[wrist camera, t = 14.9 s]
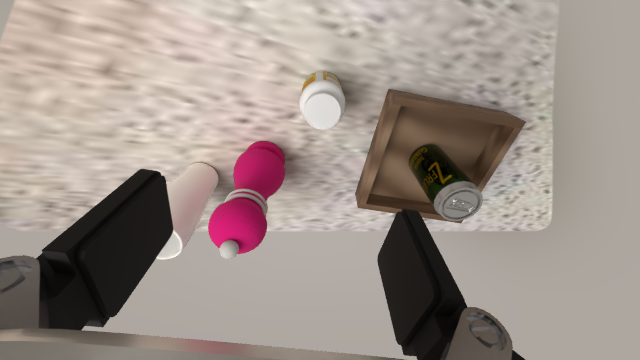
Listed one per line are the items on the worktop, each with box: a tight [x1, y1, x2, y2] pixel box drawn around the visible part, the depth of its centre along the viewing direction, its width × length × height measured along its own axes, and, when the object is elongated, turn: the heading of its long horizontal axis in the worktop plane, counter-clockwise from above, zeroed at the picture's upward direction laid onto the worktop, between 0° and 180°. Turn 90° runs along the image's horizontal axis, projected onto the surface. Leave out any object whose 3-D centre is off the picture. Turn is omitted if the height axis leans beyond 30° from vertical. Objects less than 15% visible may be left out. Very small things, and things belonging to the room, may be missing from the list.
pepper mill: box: [208, 141, 285, 259], centre depth 32 cm, size 7×7×20 cm
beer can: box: [409, 144, 483, 221], centre depth 35 cm, size 5×5×12 cm
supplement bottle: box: [300, 71, 345, 130], centre depth 31 cm, size 5×5×10 cm
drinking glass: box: [156, 163, 218, 259], centre depth 36 cm, size 7×7×15 cm
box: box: [355, 89, 526, 223], centre depth 39 cm, size 18×18×4 cm
